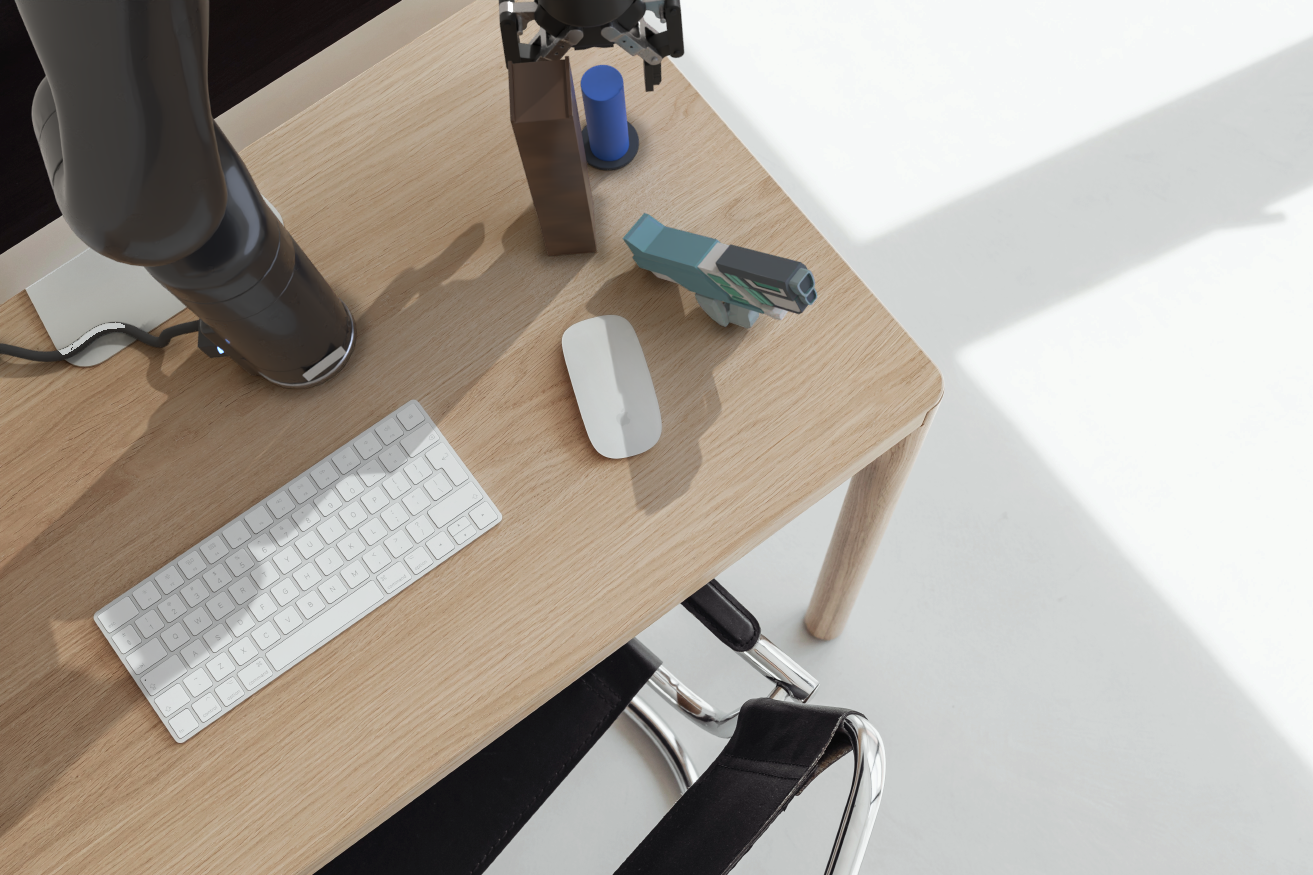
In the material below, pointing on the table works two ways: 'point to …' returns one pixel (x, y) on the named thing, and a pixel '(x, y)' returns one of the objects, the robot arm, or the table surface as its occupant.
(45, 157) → the robot arm
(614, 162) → the mat
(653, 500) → the table surface
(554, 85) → the brown tall block
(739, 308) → the toy gun
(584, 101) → the tube
